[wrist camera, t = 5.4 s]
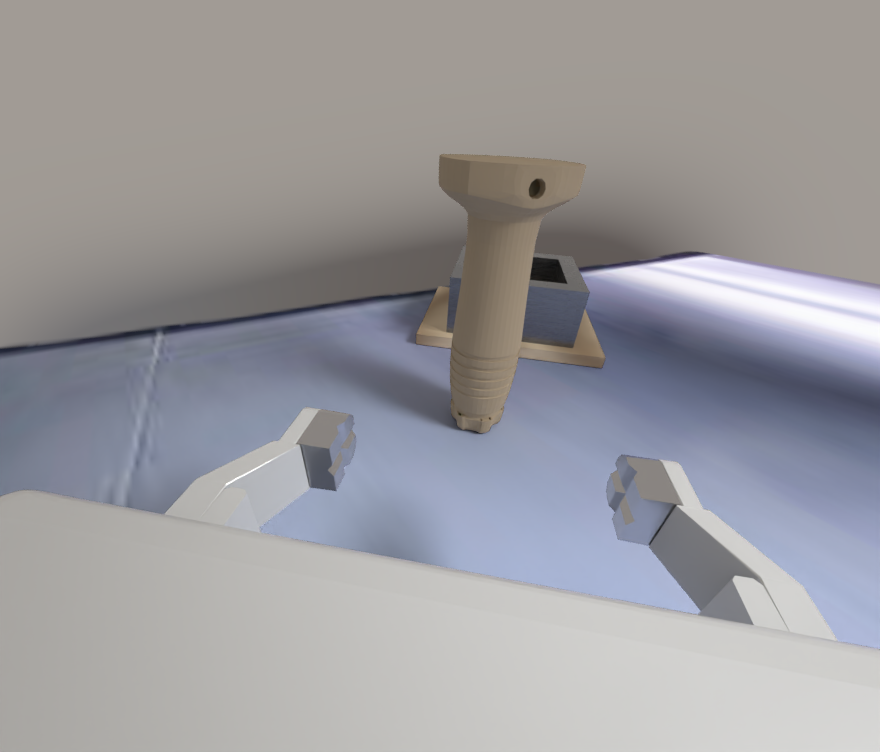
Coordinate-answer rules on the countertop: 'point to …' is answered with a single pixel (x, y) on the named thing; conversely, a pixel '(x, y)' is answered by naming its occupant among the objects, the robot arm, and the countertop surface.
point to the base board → (581, 354)
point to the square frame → (541, 300)
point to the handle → (496, 270)
